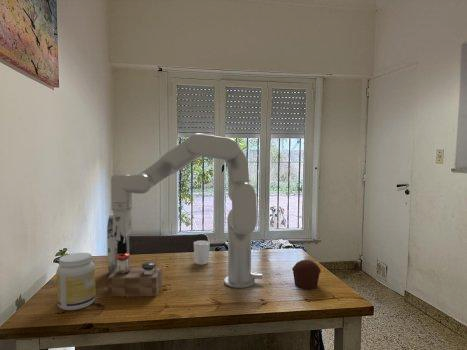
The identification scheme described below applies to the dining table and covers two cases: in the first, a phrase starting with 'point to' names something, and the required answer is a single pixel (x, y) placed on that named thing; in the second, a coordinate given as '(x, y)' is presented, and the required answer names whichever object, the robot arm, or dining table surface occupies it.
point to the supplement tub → (75, 281)
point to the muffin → (306, 274)
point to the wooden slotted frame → (134, 283)
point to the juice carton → (113, 246)
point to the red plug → (122, 263)
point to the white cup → (201, 252)
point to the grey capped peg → (148, 267)
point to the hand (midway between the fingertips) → (122, 252)
